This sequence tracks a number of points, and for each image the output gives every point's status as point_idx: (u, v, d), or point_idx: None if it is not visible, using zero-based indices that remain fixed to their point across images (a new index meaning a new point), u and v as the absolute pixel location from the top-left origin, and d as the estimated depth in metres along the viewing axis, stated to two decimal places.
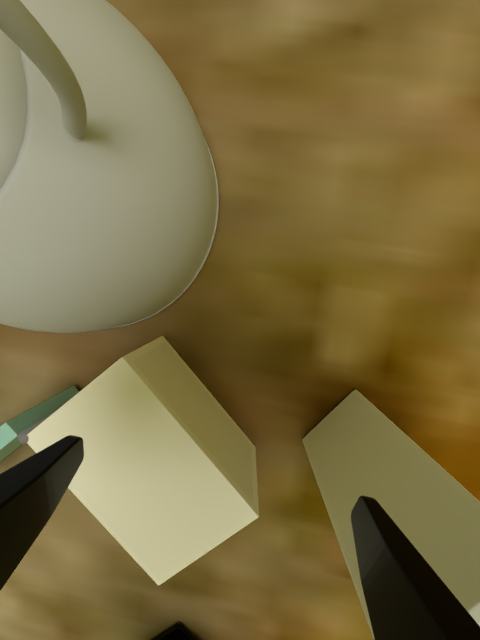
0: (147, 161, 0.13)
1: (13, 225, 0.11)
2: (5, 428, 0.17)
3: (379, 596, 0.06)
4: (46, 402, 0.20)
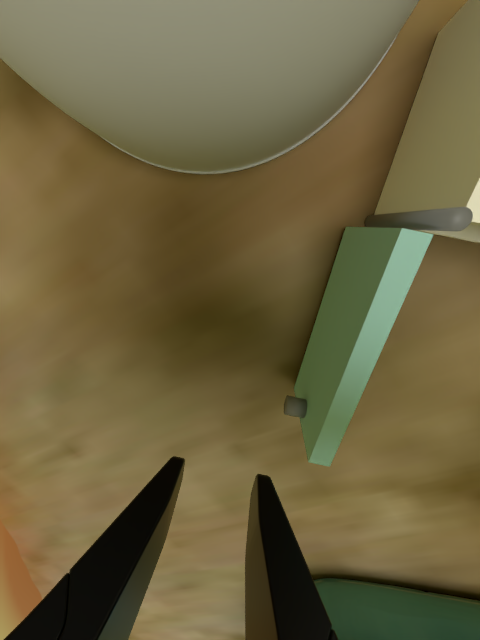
0: None
1: None
2: (406, 238, 0.09)
3: (251, 569, 0.06)
4: None
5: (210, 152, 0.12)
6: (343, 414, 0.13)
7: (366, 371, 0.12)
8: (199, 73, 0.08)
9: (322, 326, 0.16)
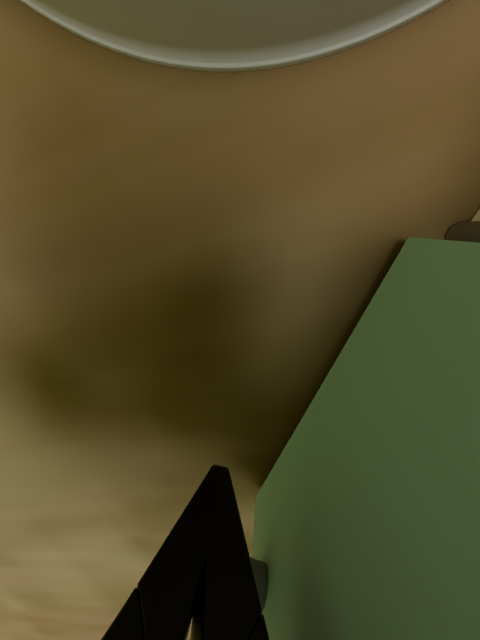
0: None
1: None
2: None
3: None
4: None
5: None
6: None
7: None
8: None
9: (325, 432, 0.08)
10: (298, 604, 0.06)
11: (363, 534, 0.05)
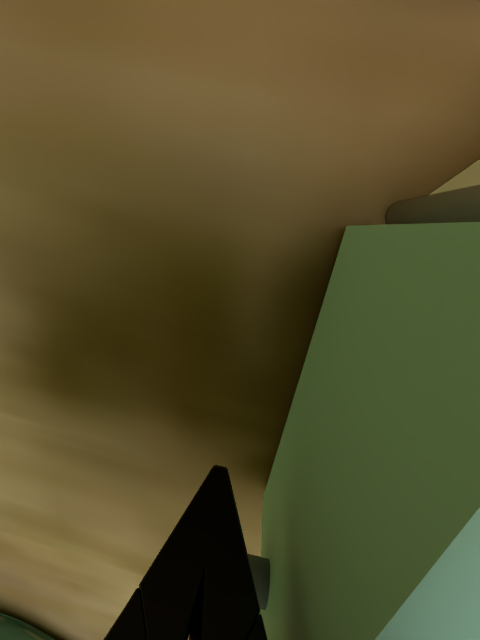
0: None
1: None
2: None
3: None
4: None
5: None
6: None
7: None
8: None
9: (301, 424, 0.08)
10: (286, 592, 0.06)
11: (321, 514, 0.05)
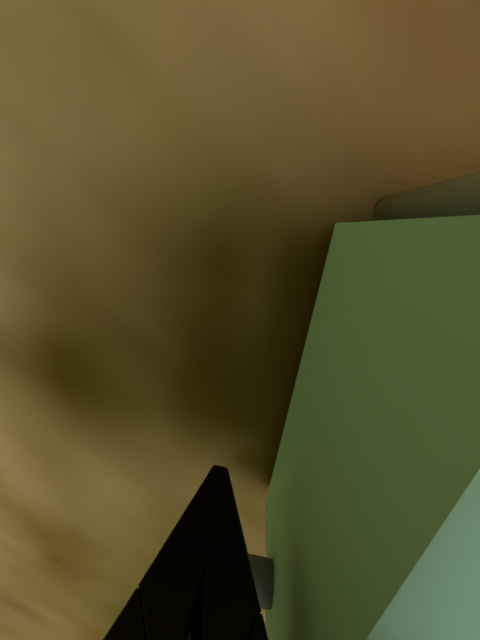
0: None
1: None
2: None
3: None
4: None
5: None
6: None
7: None
8: None
9: (298, 422, 0.08)
10: (289, 591, 0.06)
11: (318, 513, 0.05)
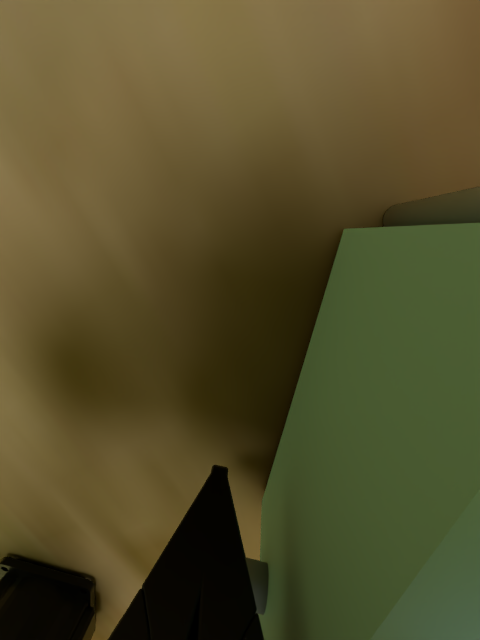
0: None
1: None
2: None
3: None
4: None
5: None
6: None
7: None
8: None
9: (299, 426, 0.08)
10: (284, 596, 0.06)
11: (319, 516, 0.05)
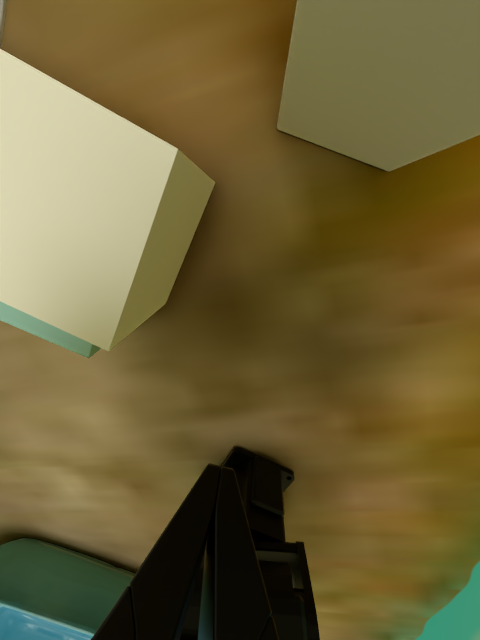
0: None
1: None
2: None
3: (207, 560, 0.06)
4: None
5: None
6: (19, 315, 0.12)
7: None
8: None
9: None
10: None
11: None
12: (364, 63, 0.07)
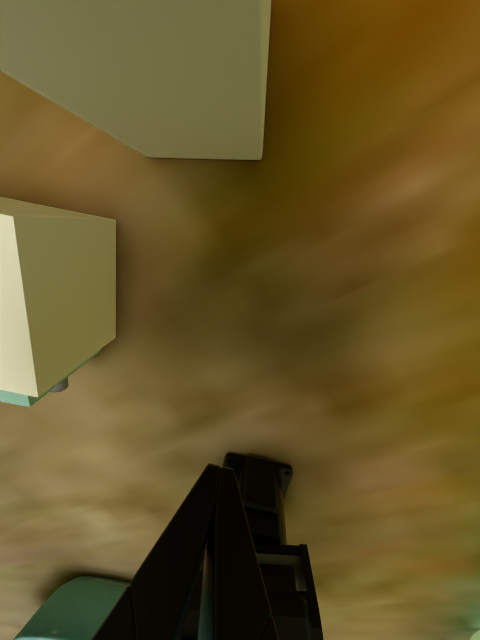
0: None
1: None
2: None
3: (207, 560, 0.06)
4: None
5: None
6: None
7: None
8: None
9: None
10: None
11: None
12: (113, 100, 0.08)
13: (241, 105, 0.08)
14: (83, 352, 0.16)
